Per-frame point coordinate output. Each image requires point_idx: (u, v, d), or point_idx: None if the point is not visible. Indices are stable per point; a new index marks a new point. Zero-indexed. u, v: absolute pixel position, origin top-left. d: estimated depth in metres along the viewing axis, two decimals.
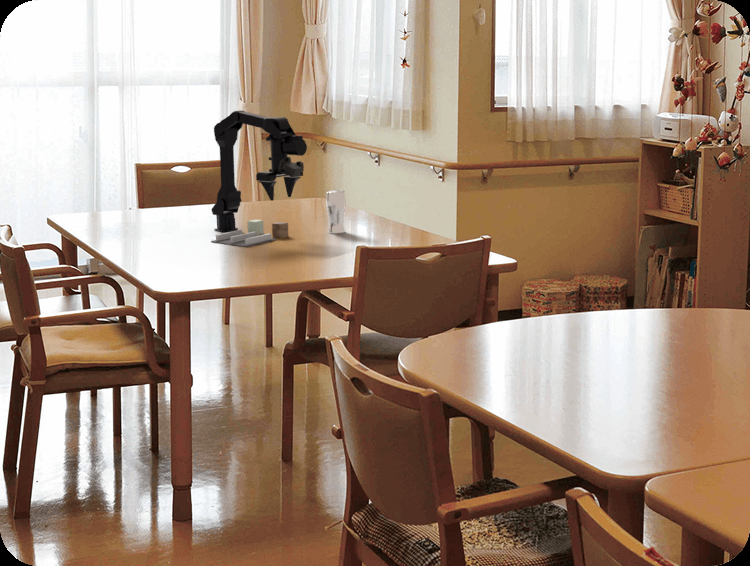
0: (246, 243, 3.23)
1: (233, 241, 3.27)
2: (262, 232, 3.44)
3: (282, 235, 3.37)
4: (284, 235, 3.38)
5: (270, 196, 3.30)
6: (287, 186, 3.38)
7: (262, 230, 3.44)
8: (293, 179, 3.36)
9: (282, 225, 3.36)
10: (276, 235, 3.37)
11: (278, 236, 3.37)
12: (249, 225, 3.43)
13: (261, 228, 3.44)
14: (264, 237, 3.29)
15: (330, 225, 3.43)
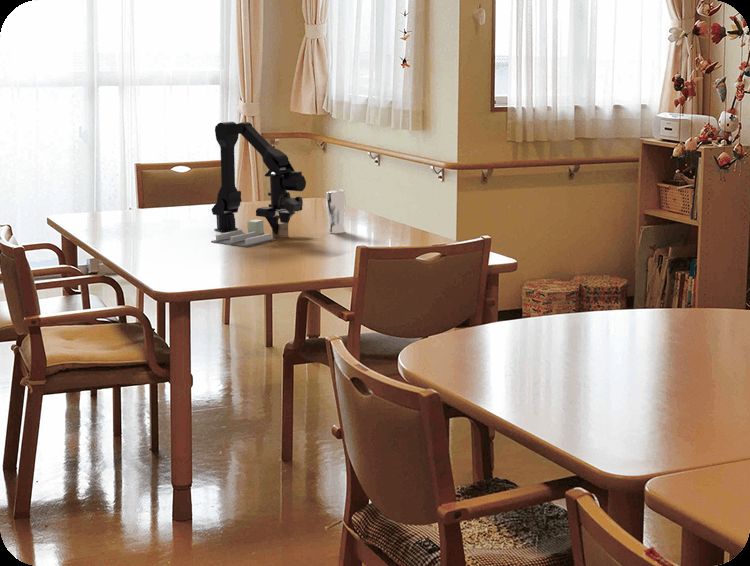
0: (246, 243, 3.23)
1: (233, 241, 3.27)
2: (262, 232, 3.44)
3: (282, 235, 3.37)
4: (284, 235, 3.38)
5: (274, 230, 3.36)
6: (282, 221, 3.40)
7: (262, 230, 3.44)
8: (288, 215, 3.38)
9: (282, 225, 3.36)
10: (276, 235, 3.37)
11: (278, 236, 3.37)
12: (249, 225, 3.43)
13: (261, 228, 3.44)
14: (264, 237, 3.29)
15: (330, 225, 3.43)
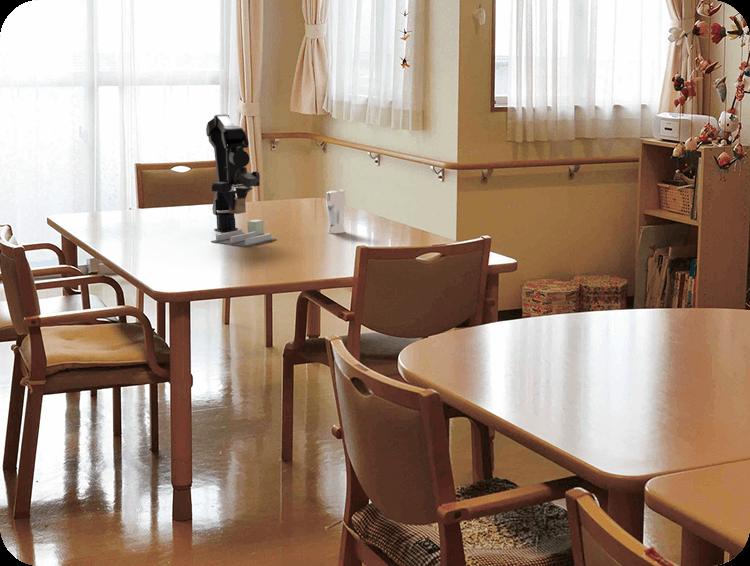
0: (246, 243, 3.23)
1: (233, 241, 3.27)
2: (262, 232, 3.44)
3: (239, 211, 3.30)
4: (241, 211, 3.31)
5: (231, 206, 3.29)
6: (239, 197, 3.33)
7: (262, 230, 3.44)
8: (245, 190, 3.31)
9: (239, 200, 3.29)
10: (233, 211, 3.30)
11: (235, 212, 3.30)
12: (249, 225, 3.43)
13: (261, 228, 3.44)
14: (264, 237, 3.29)
15: (330, 225, 3.43)
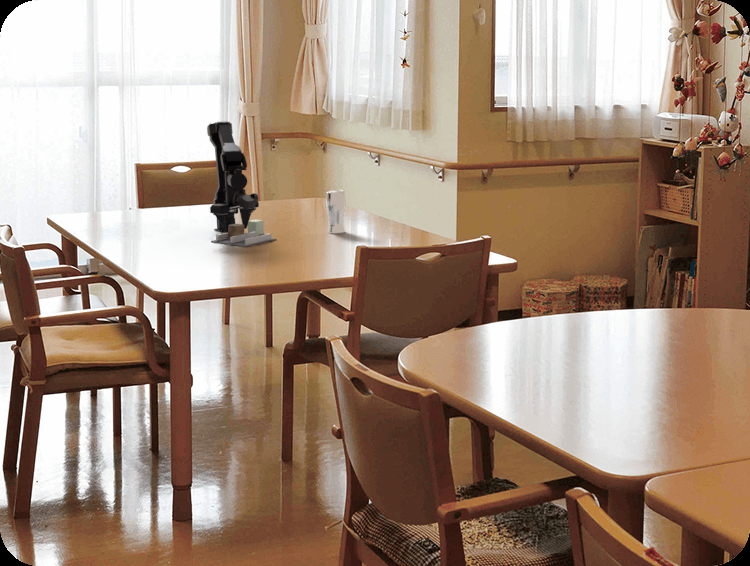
0: (246, 243, 3.23)
1: (233, 241, 3.27)
2: (262, 232, 3.44)
3: None
4: None
5: (225, 228, 3.29)
6: (242, 217, 3.37)
7: (262, 230, 3.44)
8: (248, 211, 3.35)
9: (238, 227, 3.31)
10: None
11: None
12: (249, 225, 3.43)
13: (261, 228, 3.44)
14: (264, 237, 3.29)
15: (330, 225, 3.43)
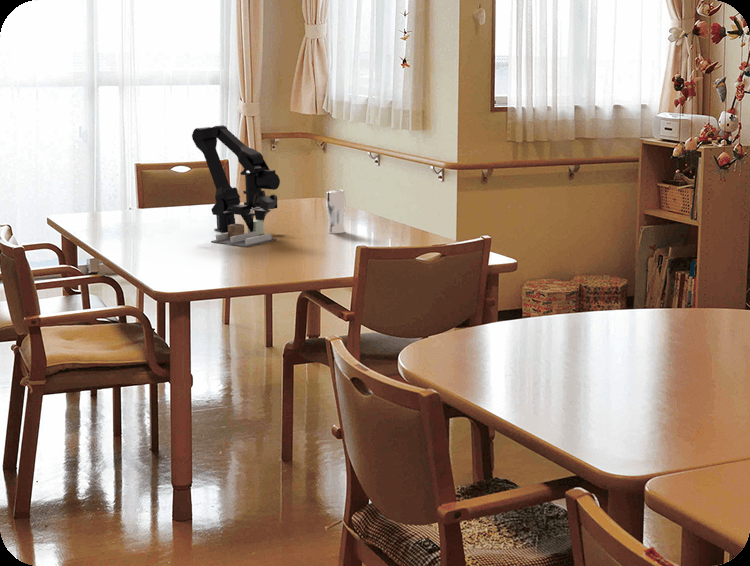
0: (246, 243, 3.23)
1: (233, 241, 3.27)
2: (262, 232, 3.44)
3: None
4: None
5: (250, 227, 3.42)
6: (257, 219, 3.46)
7: (262, 230, 3.44)
8: (263, 212, 3.44)
9: (238, 227, 3.31)
10: None
11: None
12: None
13: (261, 228, 3.44)
14: (264, 237, 3.29)
15: (330, 225, 3.43)
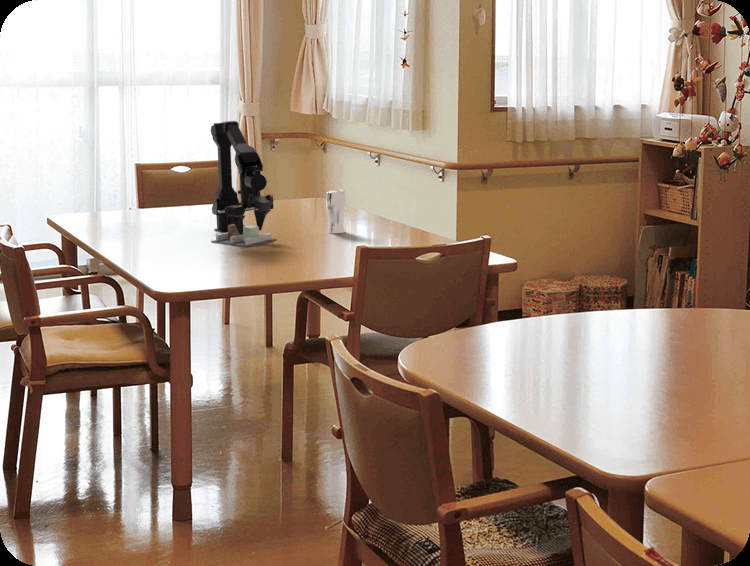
0: (246, 243, 3.23)
1: (233, 241, 3.27)
2: None
3: None
4: None
5: (239, 230, 3.25)
6: (257, 219, 3.33)
7: None
8: (263, 212, 3.31)
9: None
10: None
11: None
12: (244, 231, 3.28)
13: (257, 235, 3.29)
14: (264, 237, 3.29)
15: (330, 225, 3.43)
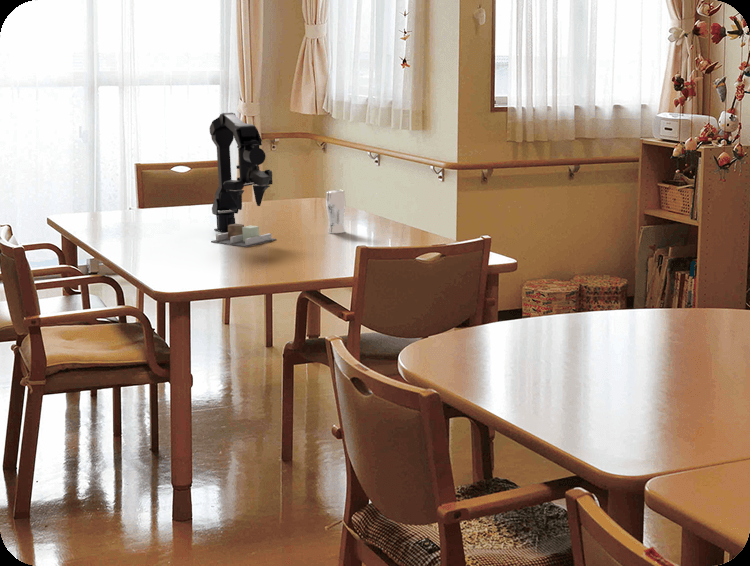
0: (246, 243, 3.23)
1: (233, 241, 3.27)
2: None
3: None
4: None
5: (238, 205, 3.23)
6: (256, 194, 3.31)
7: None
8: (262, 188, 3.29)
9: (238, 227, 3.31)
10: None
11: None
12: (244, 231, 3.28)
13: (257, 235, 3.29)
14: (264, 237, 3.29)
15: (330, 225, 3.43)
